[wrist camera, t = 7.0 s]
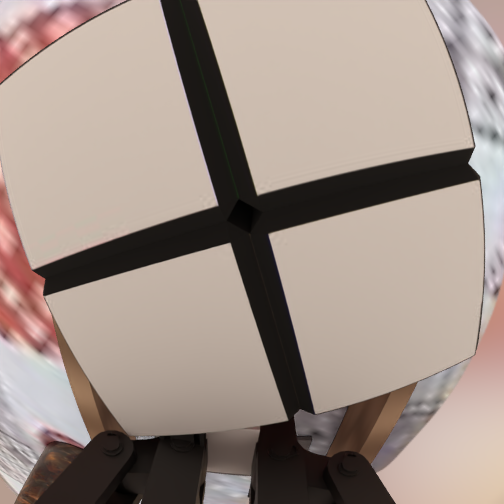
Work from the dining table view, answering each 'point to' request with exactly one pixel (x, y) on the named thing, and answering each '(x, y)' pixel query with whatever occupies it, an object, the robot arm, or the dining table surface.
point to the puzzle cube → (248, 205)
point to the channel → (347, 439)
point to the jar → (47, 471)
